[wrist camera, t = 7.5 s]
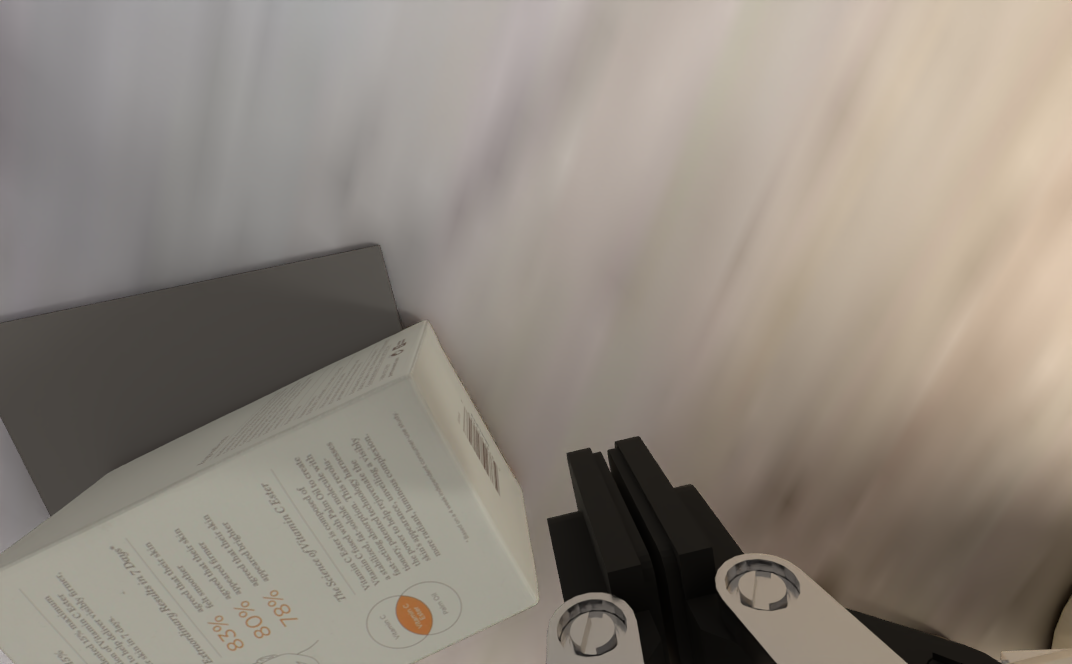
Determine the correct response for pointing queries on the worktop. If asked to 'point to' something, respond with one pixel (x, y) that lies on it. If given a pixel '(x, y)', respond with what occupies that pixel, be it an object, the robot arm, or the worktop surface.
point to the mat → (177, 361)
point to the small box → (288, 532)
